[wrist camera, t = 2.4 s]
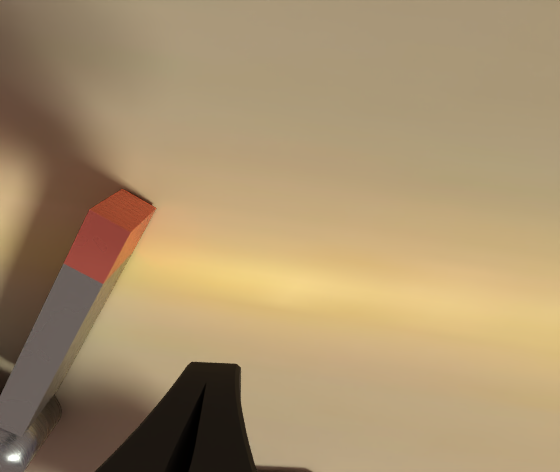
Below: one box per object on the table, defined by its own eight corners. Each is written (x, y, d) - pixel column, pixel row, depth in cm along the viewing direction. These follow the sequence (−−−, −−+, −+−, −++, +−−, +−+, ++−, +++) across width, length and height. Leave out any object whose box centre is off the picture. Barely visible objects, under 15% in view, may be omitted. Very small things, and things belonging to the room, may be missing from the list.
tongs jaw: (58, 389, 21) (22, 437, 18) (28, 376, 20) (-13, 422, 17) (156, 208, 17) (130, 232, 14) (122, 188, 17) (89, 209, 14)
